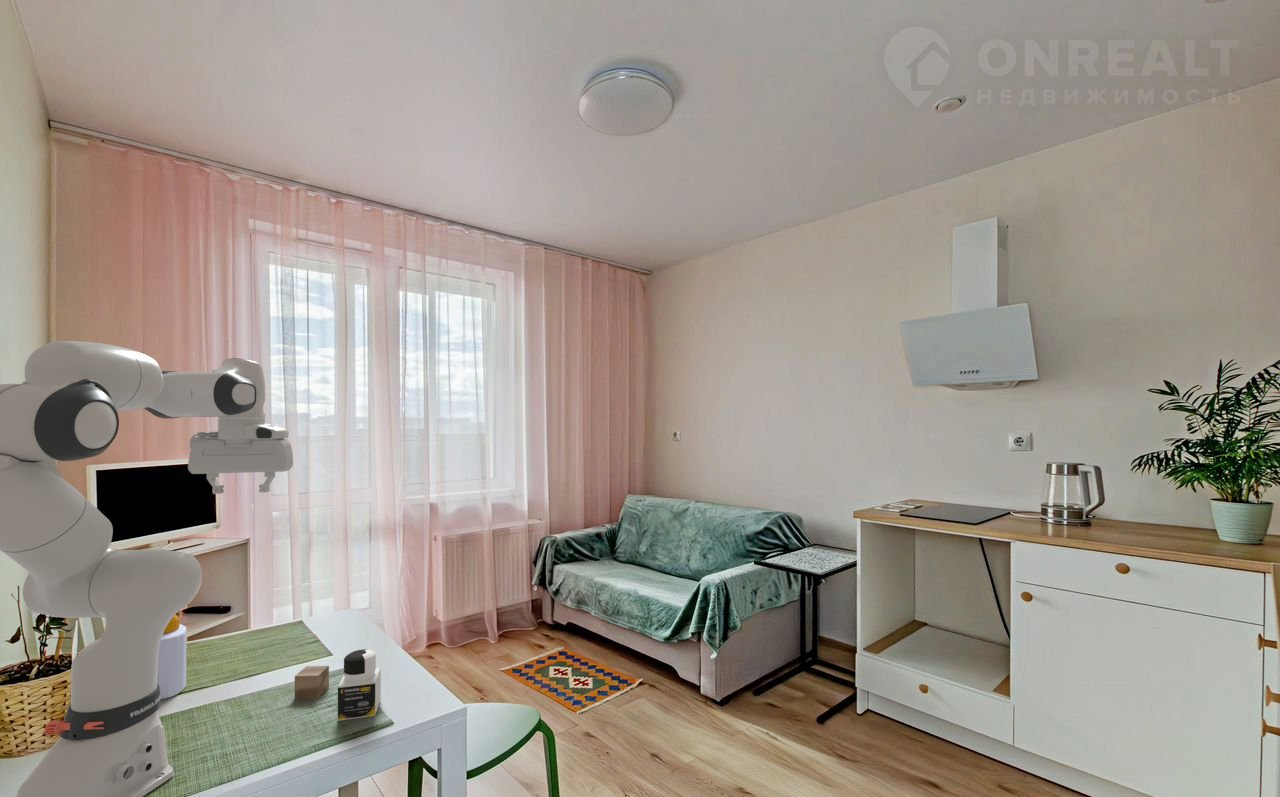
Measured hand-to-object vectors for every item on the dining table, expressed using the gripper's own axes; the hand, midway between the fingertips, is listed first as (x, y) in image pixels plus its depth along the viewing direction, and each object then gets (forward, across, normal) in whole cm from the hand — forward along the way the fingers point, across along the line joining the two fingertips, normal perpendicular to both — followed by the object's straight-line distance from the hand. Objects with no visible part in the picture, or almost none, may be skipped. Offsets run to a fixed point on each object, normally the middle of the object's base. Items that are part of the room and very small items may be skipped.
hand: (241, 492), depth 132 cm
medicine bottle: (+45, +29, -13) cm, 55 cm away
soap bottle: (+45, -18, +6) cm, 49 cm away
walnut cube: (+45, +16, -3) cm, 48 cm away
